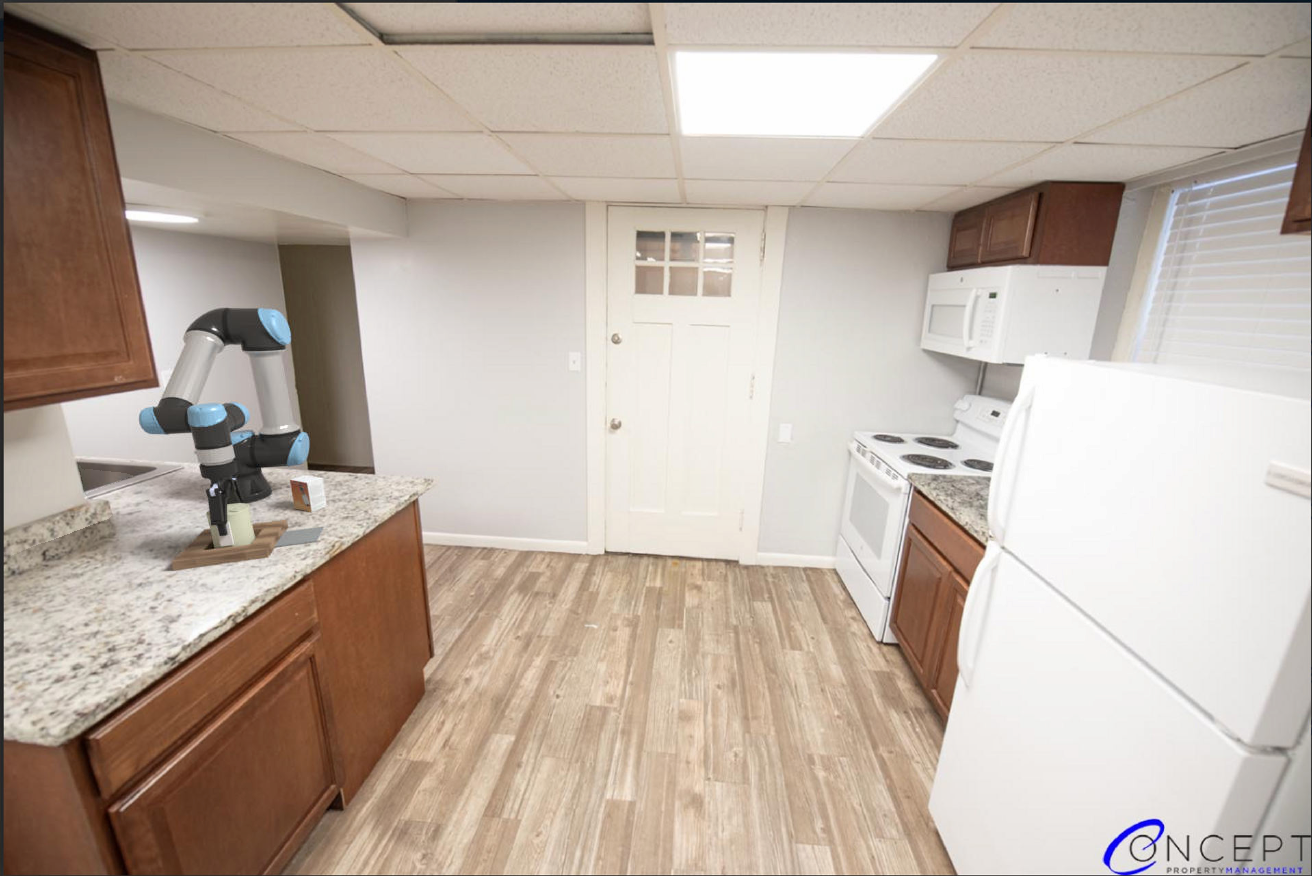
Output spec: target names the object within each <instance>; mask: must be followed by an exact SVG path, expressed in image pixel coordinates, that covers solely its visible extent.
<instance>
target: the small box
mask: <svg viewBox="0 0 1312 876" xmlns="http://www.w3.org/2000/svg"><path fill="white" fill-rule="evenodd" d="M289 483H290V488H291V493H292V494H291V495H292V501H293V506H294V507H293V508H294V509H295V510H297V509H298V510H301V511H305V512H309V513H313V512H316V511H318V510H321V509H324V508H327V506H328V505H327V499H326V491H325V484H324V478H323V477H319V476H312V475H308V474H305V475H300V476H297V477H295V478H291V479H289Z"/></svg>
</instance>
